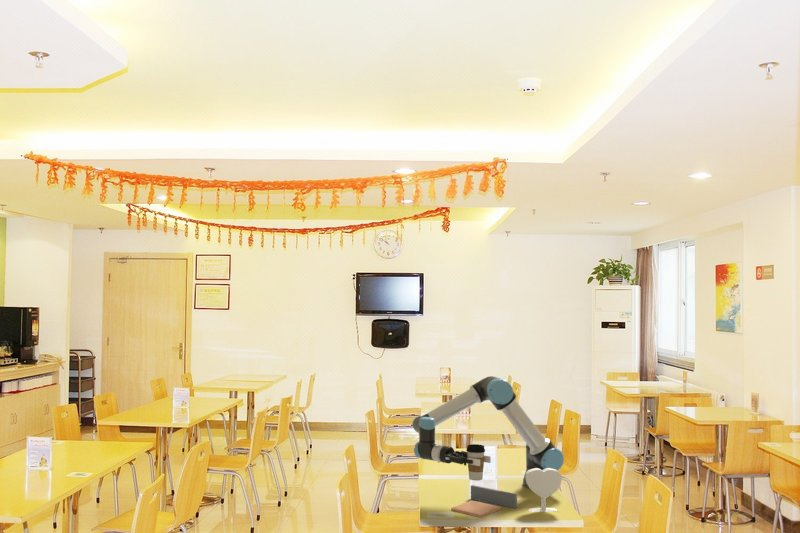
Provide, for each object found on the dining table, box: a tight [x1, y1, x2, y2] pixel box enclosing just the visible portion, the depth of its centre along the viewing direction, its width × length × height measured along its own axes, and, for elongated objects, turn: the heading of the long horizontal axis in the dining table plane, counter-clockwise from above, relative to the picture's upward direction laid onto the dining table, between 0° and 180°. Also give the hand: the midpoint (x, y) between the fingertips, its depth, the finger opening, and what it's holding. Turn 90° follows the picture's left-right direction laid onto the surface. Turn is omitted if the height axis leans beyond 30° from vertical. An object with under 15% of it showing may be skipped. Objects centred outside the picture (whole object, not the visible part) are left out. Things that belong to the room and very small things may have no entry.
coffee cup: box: [465, 443, 486, 482], centre depth 304 cm, size 8×8×15 cm
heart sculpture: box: [524, 468, 562, 513], centre depth 303 cm, size 16×5×18 cm, turn 93°
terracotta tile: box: [450, 499, 502, 518], centre depth 302 cm, size 16×16×1 cm
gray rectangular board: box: [470, 484, 518, 509], centre depth 313 cm, size 2×24×6 cm, turn 50°
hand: (485, 461), depth 301 cm, fingers closed on coffee cup, 8 cm apart
